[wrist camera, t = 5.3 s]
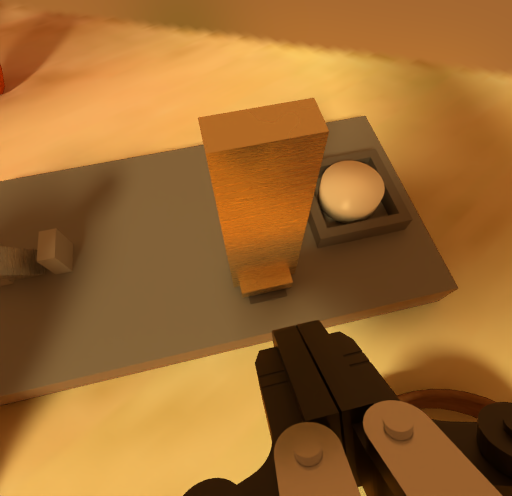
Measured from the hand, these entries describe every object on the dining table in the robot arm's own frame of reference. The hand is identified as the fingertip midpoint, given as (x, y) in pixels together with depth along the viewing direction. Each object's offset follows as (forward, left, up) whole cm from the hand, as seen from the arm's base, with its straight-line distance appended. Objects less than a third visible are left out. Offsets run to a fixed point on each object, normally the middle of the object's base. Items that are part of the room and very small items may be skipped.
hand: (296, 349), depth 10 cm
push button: (+5, +8, -4) cm, 10 cm away
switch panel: (-3, +8, -6) cm, 10 cm away
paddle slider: (0, +5, -4) cm, 6 cm away
